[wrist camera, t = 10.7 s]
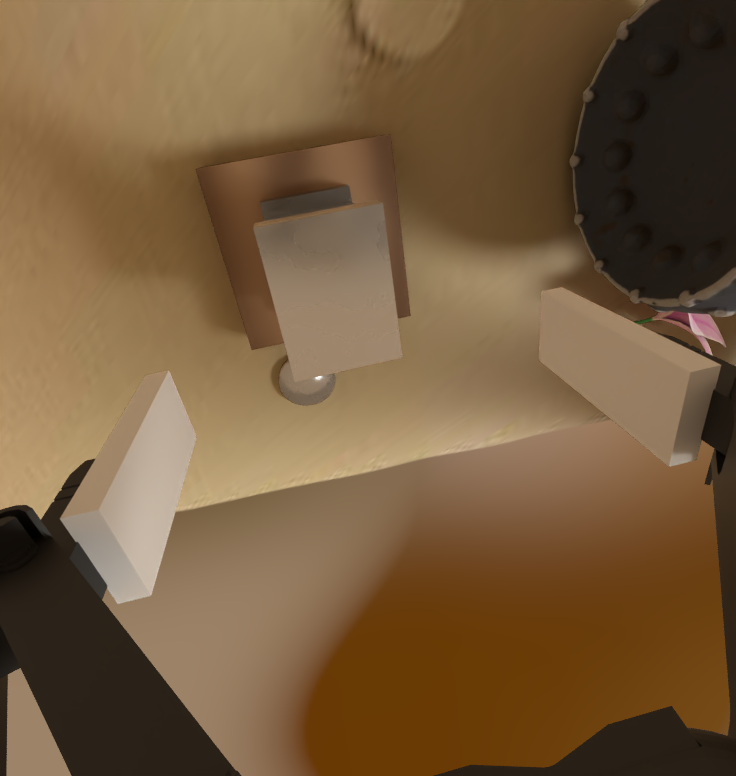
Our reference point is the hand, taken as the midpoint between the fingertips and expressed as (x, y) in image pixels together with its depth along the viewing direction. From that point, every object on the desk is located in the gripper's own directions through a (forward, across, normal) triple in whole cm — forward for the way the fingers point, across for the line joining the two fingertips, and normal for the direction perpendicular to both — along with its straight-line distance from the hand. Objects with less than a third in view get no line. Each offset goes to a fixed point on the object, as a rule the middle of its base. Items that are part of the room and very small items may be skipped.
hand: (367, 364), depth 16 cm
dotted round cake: (+23, -26, -3) cm, 35 cm away
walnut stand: (+23, 0, 0) cm, 23 cm away
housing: (+20, 0, 0) cm, 20 cm away
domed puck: (+23, +4, +11) cm, 26 cm away
